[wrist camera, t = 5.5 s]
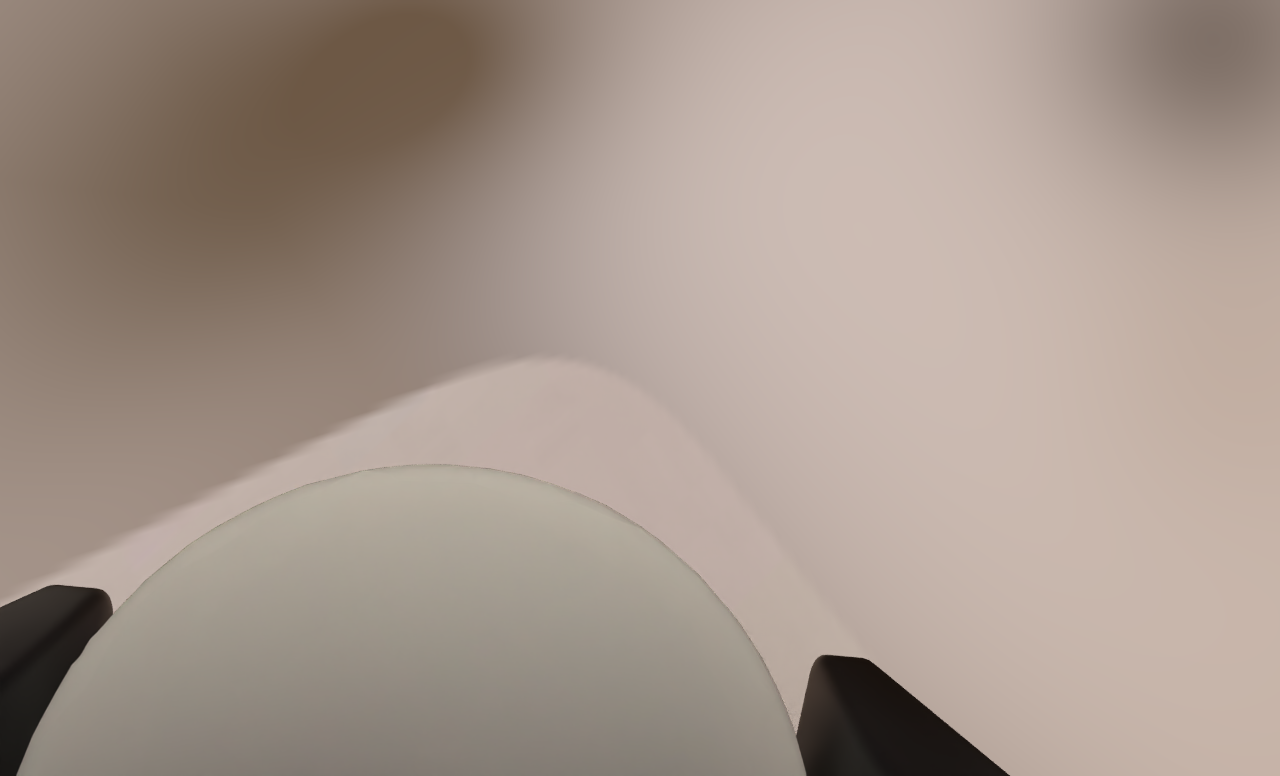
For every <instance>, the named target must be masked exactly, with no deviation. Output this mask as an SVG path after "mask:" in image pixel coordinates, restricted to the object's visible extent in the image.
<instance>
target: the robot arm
mask: <svg viewBox="0 0 1280 776" xmlns="http://www.w3.org/2000/svg"><path fill="white" fill-rule="evenodd" d="M112 615H113V608H112V603H111V600H110V597H109V596H108V594H107V593H106V592H105V591H103V590H101V589H96V588H85V587H74V586H63V585H51V586H47V587H45V588H42V589H40V590H38V591H36V592H33V593H31V594H29V595H27V596H24V597H22V598H20V599H18V600H16V601H13V602H11V603H9V604H7V605H4V606H2V607H0V776H16V775H17V773H18V770H19V768H20V765H21V763H22V760H23V758H24V756H25V753H26V751H27V748H28V746H29V743H30V741H31V738H32V736H33V734H34V732H35V730H36V728H37V726H38V724H39V722H40V720H41V719H42V717H43V715H44V713H45V711H46V709H47V708H48V706H49V704H50V702H51V700H52V698H53V697H54V695H55V693H56V691H57V689H58V688H59V686H60V684H61V682H62V681H63V679H64V677H65V676H66V674H67V672H68V670H69V669H70V667H71V665H72V664H73V663H74V662H75V661H76V660H77V659H78V658H79V657H80V655H81V654H82V652H83V650H84V649H85V647H86V645H87V643H88V642H89V640H90V639H91V638H92V637H93V636H94V635H95V634H96V633H97V632H98V631H99V630H100V629H101V627H102V626H103V625H104V624H105V623H106V622H107V621H108V619H109V618H110V617H111V616H112ZM796 738H797V741H798V745H799V749H800V752H801V756H802V760H803V763H804V767H805V771H806V776H1010V775H1008V774H1007V773H1006V772H1005V771H1004V770H1002V769H1001V768H1000V767H999V766H997V765H996V764H995V763H994V762H993V761H991V760H990V759H989V758H988V757H987V756H985V755H984V754H983V753H981V752H980V751H979V750H978V749H977V748H976V747H974V746H973V745H972V744H971V743H970V742H968V741H967V740H966V739H965V738H963V737H962V736H961V735H960V734H958V733H957V732H956V731H955V730H954V729H953V728H951V727H950V726H949V725H948V724H947V723H945V722H944V721H943V720H941V719H940V718H939V717H938V716H937V715H936V714H934V713H933V712H932V711H931V710H930V709H928V708H927V707H926V706H925V705H923V704H922V703H921V702H920V701H919V700H917V699H916V698H915V697H914V696H912V695H911V694H910V693H909V692H908V691H906V690H905V689H904V688H903V687H902V686H900V685H899V684H898V683H897V682H895V681H894V680H893V679H892V678H891V677H889V676H888V675H887V674H886V673H885V672H883V671H882V670H881V669H880V668H879V667H877V666H876V665H875V664H874V663H872V662H871V661H869V660H867V659H864V658H857V657H845V656H834V655H822V656H820V657H818V658H817V659H816V660H815V662H814V664H813V666H812V668H811V672H810V675H809V680H808V685H807V689H806V694H805V698H804V703H803V707H802V712H801V716H800V721H799V726H798V730H797V735H796Z"/></svg>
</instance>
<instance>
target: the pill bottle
mask: <svg viewBox="0 0 1280 776" xmlns="http://www.w3.org/2000/svg"><path fill="white" fill-rule="evenodd" d="M16 776H806V771H805V767H804V763H803V760H802V756H801V752H800V749H799V745H798V741H797V738H796V734H795V732H794V729H793V726H792V723H791V720H790V718H789V715H788V712H787V709H786V707H785V705H784V702H783V700H782V698H781V696H780V693H779V691H778V689H777V686H776V684H775V682H774V680H773V678H772V676H771V675H770V673H769V671H768V669H767V667H766V665H765V663H764V661H763V659H762V657H761V656H760V654H759V652H758V651H757V649H756V648H755V646H754V645H753V643H752V641H751V640H750V638H749V637H748V635H747V634H746V632H745V630H744V629H743V627H742V626H741V625H740V623H739V622H738V621H737V619H736V618H735V617H734V615H733V614H732V613H731V611H730V610H729V609H728V608H727V607H726V606H725V604H724V603H723V602H722V601H721V600H720V599H719V598H718V596H717V595H716V594H715V593H714V592H713V591H712V589H711V588H710V587H709V586H708V585H707V583H706V582H705V581H704V580H703V579H702V578H701V576H700V575H699V574H698V573H696V572H695V571H694V570H693V569H692V568H691V567H690V566H688V565H687V564H686V563H685V562H684V561H683V560H682V559H681V558H679V557H678V556H677V555H676V554H675V553H674V552H673V551H672V550H670V549H669V548H668V547H667V546H666V545H665V544H664V543H663V542H661V541H660V540H659V539H657V538H656V537H654V536H653V535H652V534H650V533H649V532H648V531H646V530H645V529H643V528H642V527H641V526H639V525H638V524H636V523H635V522H633V521H631V520H630V519H628V518H626V517H625V516H623V515H621V514H620V513H618V512H616V511H615V510H613V509H612V508H610V507H608V506H607V505H604V504H602V503H600V502H597V501H595V500H593V499H591V498H588V497H586V496H584V495H581V494H579V493H577V492H574V491H571V490H568V489H565V488H562V487H560V486H557V485H554V484H551V483H548V482H545V481H541V480H538V479H535V478H531V477H528V476H525V475H521V474H515V473H510V472H505V471H500V470H494V469H488V468H478V467H468V466H458V465H406V466H394V467H384V468H377V469H370V470H363V471H359V472H355V473H351V474H347V475H343V476H339V477H335V478H331V479H327V480H323V481H319V482H315V483H311V484H307V485H305V486H302V487H299V488H297V489H294V490H291V491H289V492H286V493H284V494H281V495H279V496H277V497H274V498H272V499H270V500H268V501H266V502H263V503H261V504H259V505H257V506H255V507H253V508H251V509H249V510H247V511H245V512H243V513H241V514H240V515H238V516H236V517H234V518H232V519H230V520H228V521H227V522H225V523H223V524H221V525H219V526H217V527H215V528H214V529H212V530H211V531H209V532H208V533H206V534H205V535H203V536H202V537H200V538H198V539H197V540H195V541H194V542H192V543H191V544H189V545H188V546H187V547H185V548H184V549H183V550H182V551H180V552H179V553H178V554H177V555H176V556H174V557H173V558H172V559H171V560H169V561H168V562H167V563H166V564H165V565H163V566H162V567H161V568H160V569H159V570H157V571H156V572H155V573H154V574H153V575H151V576H150V577H149V578H148V579H147V580H145V581H144V582H143V583H142V584H141V585H140V587H139V588H138V589H137V590H136V591H135V592H134V593H133V594H132V595H131V596H130V597H129V598H128V599H127V600H126V601H125V602H124V603H123V604H122V605H121V606H120V607H119V608H118V609H117V610H116V611H115V613H114V614H113V615H112V616H111V617H110V618H109V619H108V621H107V622H106V623H105V624H104V625H103V626H102V627H101V629H100V630H99V631H98V632H97V633H96V634H95V635H94V636H93V637H92V638H91V639H90V640H89V642H88V643H87V645H86V647H85V649H84V650H83V652H82V654H81V655H80V657H79V658H78V659H77V660H76V661H75V662H74V663H73V664H72V665H71V667H70V669H69V670H68V672H67V674H66V676H65V677H64V679H63V681H62V682H61V684H60V686H59V688H58V689H57V691H56V693H55V695H54V697H53V698H52V700H51V702H50V704H49V706H48V708H47V709H46V711H45V713H44V715H43V717H42V719H41V720H40V722H39V724H38V726H37V728H36V730H35V732H34V734H33V736H32V738H31V741H30V743H29V746H28V748H27V751H26V753H25V756H24V758H23V760H22V763H21V765H20V768H19V770H18V773H17V775H16Z"/></svg>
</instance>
